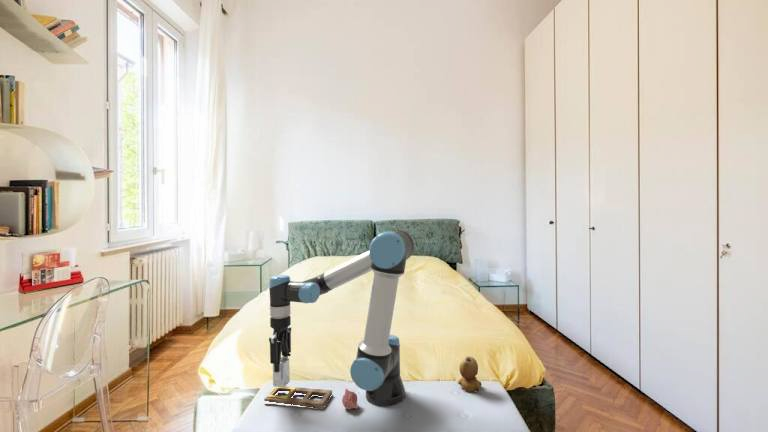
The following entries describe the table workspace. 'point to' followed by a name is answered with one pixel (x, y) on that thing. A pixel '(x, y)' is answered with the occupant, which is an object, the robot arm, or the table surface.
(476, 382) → the figurine
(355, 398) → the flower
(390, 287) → the robot arm
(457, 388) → the table surface
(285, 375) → the block
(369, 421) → the table surface
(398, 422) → the table surface
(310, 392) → the board
